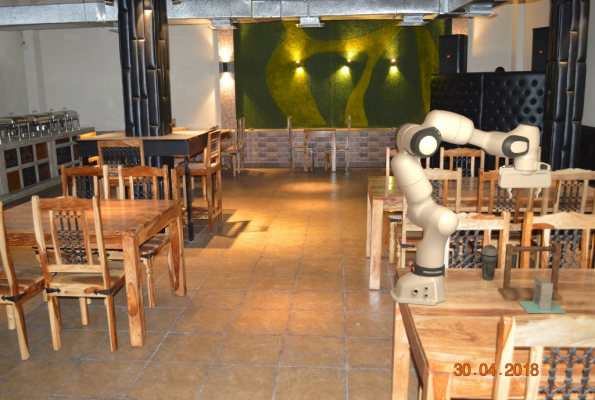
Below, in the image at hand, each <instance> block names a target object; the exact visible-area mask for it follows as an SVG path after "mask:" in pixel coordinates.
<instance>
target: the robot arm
mask: <svg viewBox="0 0 595 400" xmlns="http://www.w3.org/2000/svg"><path fill="white" fill-rule="evenodd" d="M540 134H541V133H540V129H539V127H538V126H536V125H533V124H528V123H520V124H518V125H517V127H516V128H514V129H513V130H510V131H508V132H504V131H503V132H502V131H499V130H488V131H484V130H480V129H477V128H475V126H474V122H473V121H472V119H470V118H468V117H466V116H464V115H462V114H459V113H456V112H453V111H448V110H441V109H440V110H439V109H433V110H432V111H430V112H428V113H427V115H426V116H425V119H424V121H423V123H422V124H418V123H417V124H416V123H414V122H404V123H401V124H400V125H399V126H398V127H397V128H396V130H395V132H394V142H395V143H394V149H395V151H396V152H397V153H396V154H394V156H393V157H392V159H391V160H390V167H391V170H392V175H393V176H394V179H395V181H396V183H397V184H398V187H399V189H400V190H401V192H402V195H403V196H404V198H405V201H406V203H407V209H406V216H407V218H408V220H409V221H410V222H411V223H413V225H414V226H416V227H419V228H421V229H423V230H424V232H423V237H422V239H420V240H419V241H418V242H417V243H416V248H415V249H416V250H415V251H416V255H415V262H413V261H412V260H409V261H408V263H407V264H408V266H409V268H410V270H409V271H408V272H406V273H405V274H403V275H402V276H400V277H399V278H398V279H397V282H396V286H395V287H392V288H391V290H390V292H389V294H390V298H391V299H392V300H393V301H394V302H396V303H398V304H411V305H423V306H436V305H438V304H439V303H441V302H444V301H446V300H447V298H448V297H447V294H446V288H445V275H446V265H445V252H446V245H447V242H448V240H449V238H450V236H451V235H453V234H454V233H455V232H456V231H457V229H458V227H459V222H460V221H459V217H458V215H457V214H456V213H455V212H454V211H452V209H449V208H448V207H446V206H443V205H440V204H437V203H436V202H435V201H434V200H433V198H432V197H433V196H432V193H433V190H434V189H433V186H432V183H431V182H430V180H429V178H428V175H427V174H426V171H425V170H424V168H423V166H422V163H421V159H427V158H430V157H433V156H434V155H435V154H436V153H437V151H438V149H439V147H440V144H441V143H442V142H443V141H444V142H447V143H450V144H455V145H466V144H471V145H473V146H476V147H479V149H481V150H482V152H483V153H485V154H486V155H489V156H496V157H500V158H501V157H502V158H505V159H513V164H503V165H502V166H500V167H499V169H498V179H497V186H498V187H499V188H501V189H506V191H507V194H508V199H509V200H514V198H515V194H514V193H512V192H511V191H512V189H535V190H536V191H534V193H532V199H534V200H536V199H537V200H538V198H539V194H540V193H541V192H542V189H545V188H546V189H549V188H550V187H551V186H552V172H551V171H550V170H551V165H550V164H549V163H546V162H543V161H542V160H539V148H540V143H541V141H540V140H541V138H540V137H541V136H540Z"/></svg>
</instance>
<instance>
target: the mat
mask: <svg viewBox="0 0 595 400" xmlns="http://www.w3.org/2000/svg"><path fill="white" fill-rule="evenodd" d="M518 304H519V305H520V307H521V308H522V309H523V310H524V309H525V310H526V311H525V310H524V311H525V312H526V313H527V314H528V313H564V314H563V315H566V314H567V311H565V310H564V309H563V308H562V307H561V306H560V305H559V304H558V303H557V301H551V311H540V310H539V309H538V306H539V305H534V304H533V301H518Z"/></svg>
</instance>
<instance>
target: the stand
mask: <svg viewBox="0 0 595 400" xmlns="http://www.w3.org/2000/svg"><path fill="white" fill-rule="evenodd" d="M513 252H553V255H552V267H551V276H550V281H551V282H552V283H553V290H552V300H551V302H557V301H560V302H562V301H563V296H562V295H561V294H559V292H558V287H559V286H558V284H559V276H560V265H561V258H562V257H561V255H562V244H560V243H554V244H553V246H551V245H549V246H548V245H546V246H545V245H542V246H541V245H540V246H537V245H535V246H529V245H528V246H526V245H525V246H523V245H522V246H518V245H517V246H516V245H515V246H514V245H513V244H511V243H506V244H505V255H504V270H503V281H502V287H497V291H498V293H500V295H501V296H502V297H503V299H504V300H505V301H507V302H509V301H513V302H514V301H518V302H533V294H534V287H511V275H512V265H513V264H512V262H513Z"/></svg>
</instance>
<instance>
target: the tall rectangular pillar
mask: <svg viewBox="0 0 595 400" xmlns="http://www.w3.org/2000/svg"><path fill="white" fill-rule="evenodd" d="M533 288H534V294H533V301H532V302H533V304H534V305H539V306H538V309H539V310H540V311H551V302H552V301H551V300H552V290H553V283H552V282H551V279H549V278H548V277H547V276H534V285H533Z"/></svg>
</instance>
